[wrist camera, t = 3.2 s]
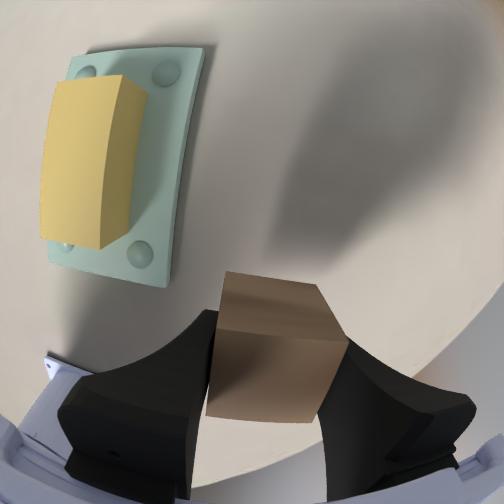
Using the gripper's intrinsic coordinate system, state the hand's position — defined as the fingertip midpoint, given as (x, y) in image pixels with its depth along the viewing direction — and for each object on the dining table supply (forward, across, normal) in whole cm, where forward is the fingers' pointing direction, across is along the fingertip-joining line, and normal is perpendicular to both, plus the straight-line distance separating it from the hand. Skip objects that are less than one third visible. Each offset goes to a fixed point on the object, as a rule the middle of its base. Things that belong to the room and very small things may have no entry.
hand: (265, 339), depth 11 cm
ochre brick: (+5, +10, -6) cm, 13 cm away
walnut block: (+2, 0, 0) cm, 2 cm away
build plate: (+6, +10, -6) cm, 13 cm away
